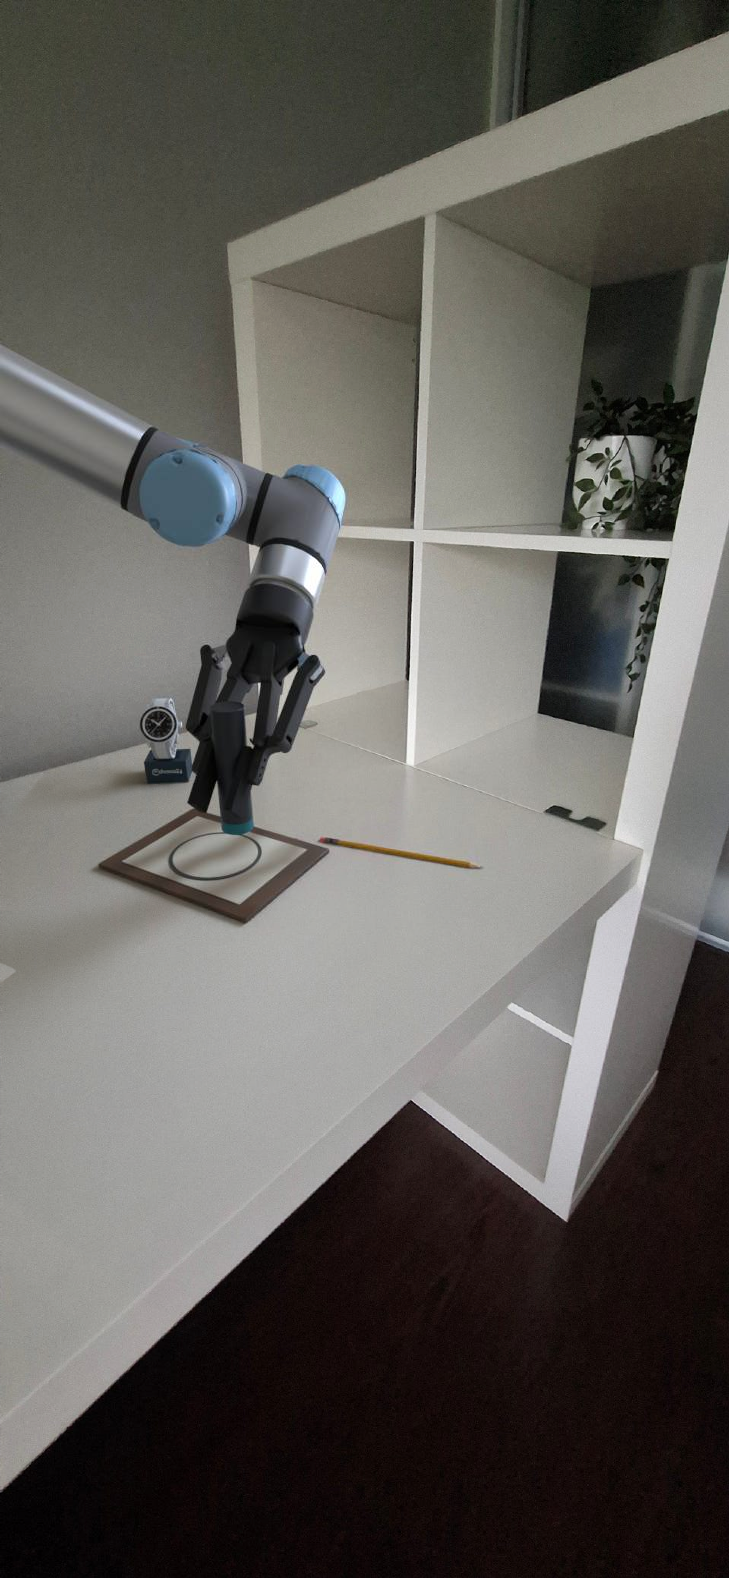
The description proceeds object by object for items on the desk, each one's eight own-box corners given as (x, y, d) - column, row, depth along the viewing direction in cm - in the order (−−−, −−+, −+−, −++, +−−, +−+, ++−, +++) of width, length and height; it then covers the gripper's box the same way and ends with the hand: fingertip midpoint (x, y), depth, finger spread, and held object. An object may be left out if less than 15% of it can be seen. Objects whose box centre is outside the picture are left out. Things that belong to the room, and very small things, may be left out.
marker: (214, 830, 70) (202, 708, 64) (235, 817, 72) (224, 698, 66) (240, 838, 68) (229, 714, 62) (260, 824, 71) (251, 704, 65)
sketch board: (98, 867, 74) (97, 862, 74) (193, 811, 86) (192, 806, 86) (246, 923, 65) (245, 917, 65) (329, 852, 77) (329, 846, 77)
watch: (144, 789, 92) (132, 711, 87) (155, 765, 99) (145, 691, 94) (186, 788, 92) (177, 710, 87) (195, 764, 99) (186, 690, 94)
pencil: (319, 843, 80) (319, 837, 79) (321, 841, 80) (321, 834, 80) (483, 872, 74) (483, 865, 74) (484, 869, 75) (484, 862, 74)
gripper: (361, 627, 73) (305, 836, 66) (226, 617, 78) (160, 810, 71) (344, 584, 66) (279, 811, 59) (196, 575, 71) (120, 785, 64)
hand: (215, 810), depth 65 cm, fingers closed on marker, 3 cm apart
